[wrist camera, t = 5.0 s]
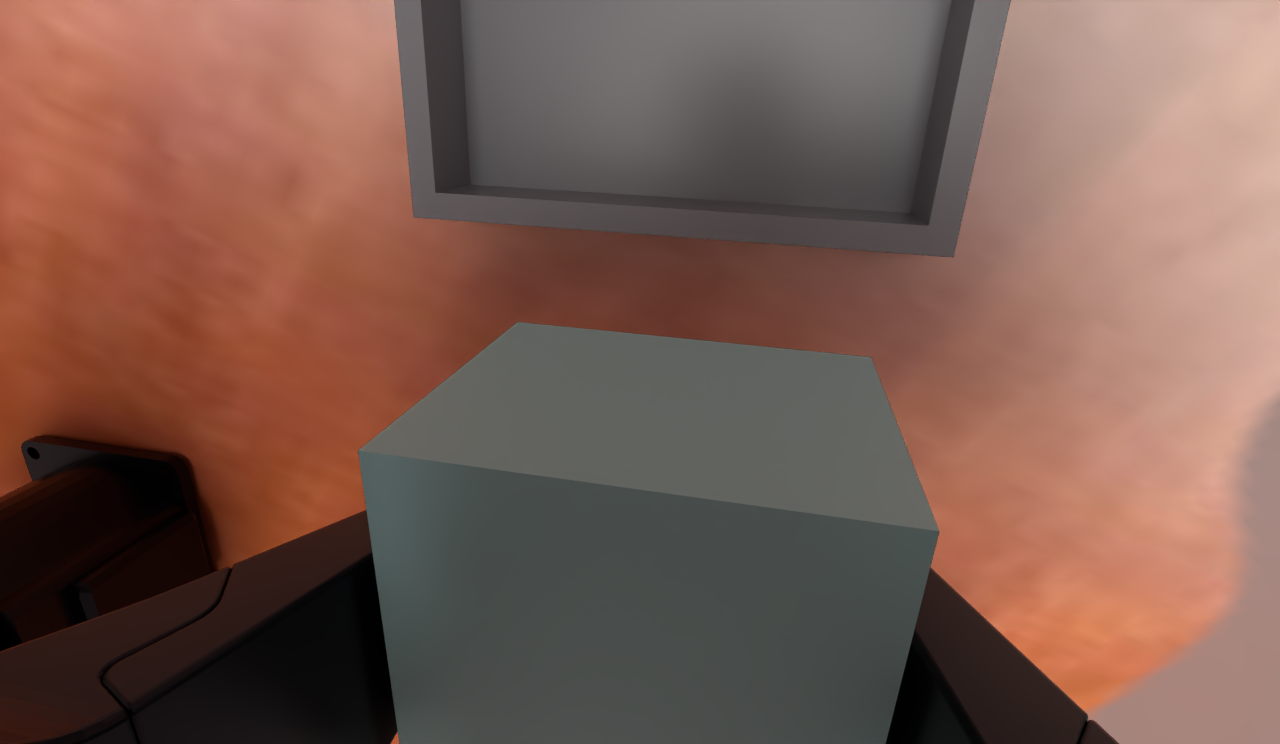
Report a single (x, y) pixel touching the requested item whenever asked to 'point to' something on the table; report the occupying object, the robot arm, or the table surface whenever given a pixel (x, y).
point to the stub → (647, 545)
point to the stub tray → (701, 116)
